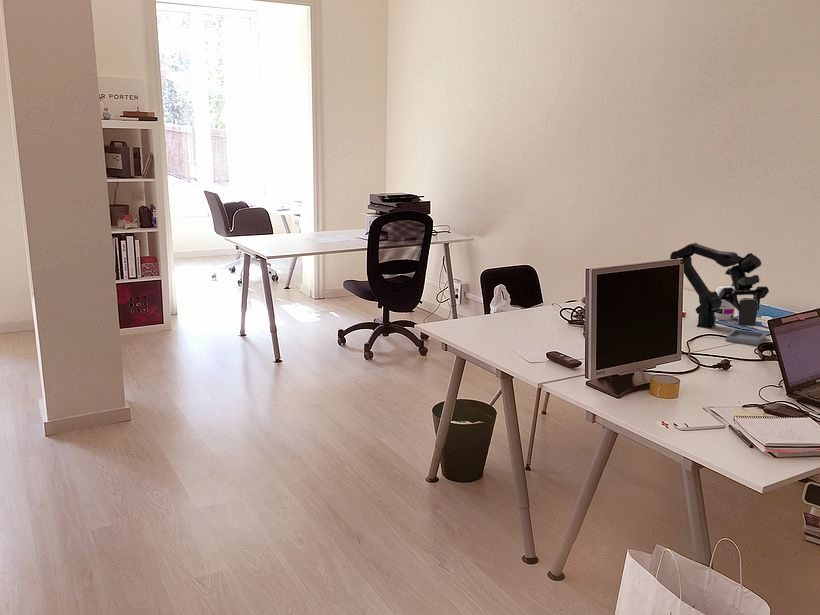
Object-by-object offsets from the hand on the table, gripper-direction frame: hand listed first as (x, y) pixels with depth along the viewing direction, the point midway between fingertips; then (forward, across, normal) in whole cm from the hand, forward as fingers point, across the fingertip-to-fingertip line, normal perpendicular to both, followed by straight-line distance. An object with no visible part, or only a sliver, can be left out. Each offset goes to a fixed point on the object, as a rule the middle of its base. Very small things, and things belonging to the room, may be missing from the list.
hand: (749, 310), depth 286 cm
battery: (+4, 0, +6) cm, 7 cm away
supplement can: (-15, +6, +35) cm, 39 cm away
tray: (+8, +1, +10) cm, 13 cm away
